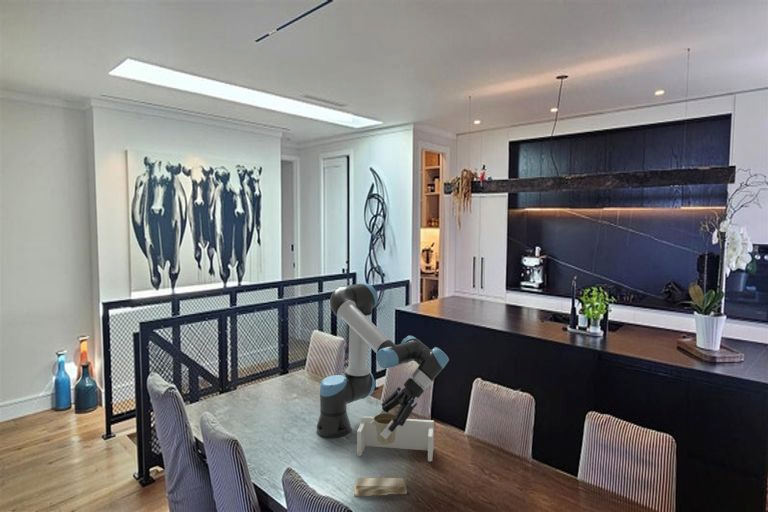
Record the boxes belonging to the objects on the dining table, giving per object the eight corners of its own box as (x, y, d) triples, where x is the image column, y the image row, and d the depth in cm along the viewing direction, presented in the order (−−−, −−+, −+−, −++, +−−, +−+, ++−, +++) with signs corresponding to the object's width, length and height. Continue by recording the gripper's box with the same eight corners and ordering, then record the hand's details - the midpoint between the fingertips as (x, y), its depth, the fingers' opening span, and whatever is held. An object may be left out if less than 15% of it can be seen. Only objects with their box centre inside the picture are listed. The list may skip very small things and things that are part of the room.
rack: (356, 455, 178) (356, 426, 177) (361, 443, 187) (361, 415, 187) (432, 461, 173) (432, 431, 172) (433, 449, 183) (433, 420, 182)
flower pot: (372, 435, 171) (372, 413, 171) (397, 434, 172) (397, 412, 172) (374, 447, 162) (374, 424, 161) (400, 446, 163) (400, 423, 162)
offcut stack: (354, 498, 151) (353, 488, 151) (353, 486, 158) (353, 477, 157) (407, 495, 152) (406, 485, 152) (404, 484, 159) (404, 474, 159)
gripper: (437, 400, 161) (396, 450, 157) (411, 379, 182) (374, 423, 177) (423, 387, 159) (381, 438, 154) (399, 368, 179) (362, 412, 175)
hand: (378, 430), depth 166 cm, fingers closed on flower pot, 9 cm apart
